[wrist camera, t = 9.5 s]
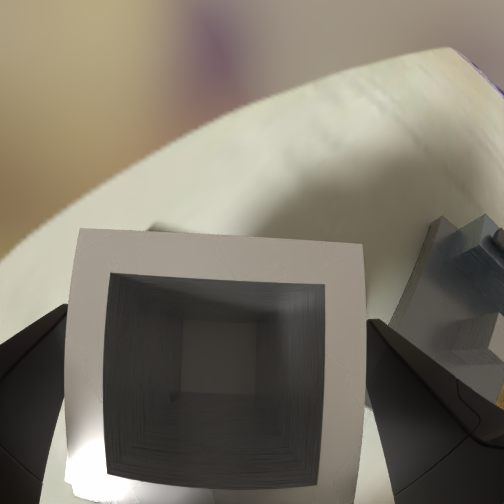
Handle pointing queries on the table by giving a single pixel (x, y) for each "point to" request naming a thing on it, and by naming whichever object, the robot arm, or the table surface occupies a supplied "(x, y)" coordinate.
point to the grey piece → (458, 303)
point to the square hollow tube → (210, 404)
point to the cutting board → (215, 360)
